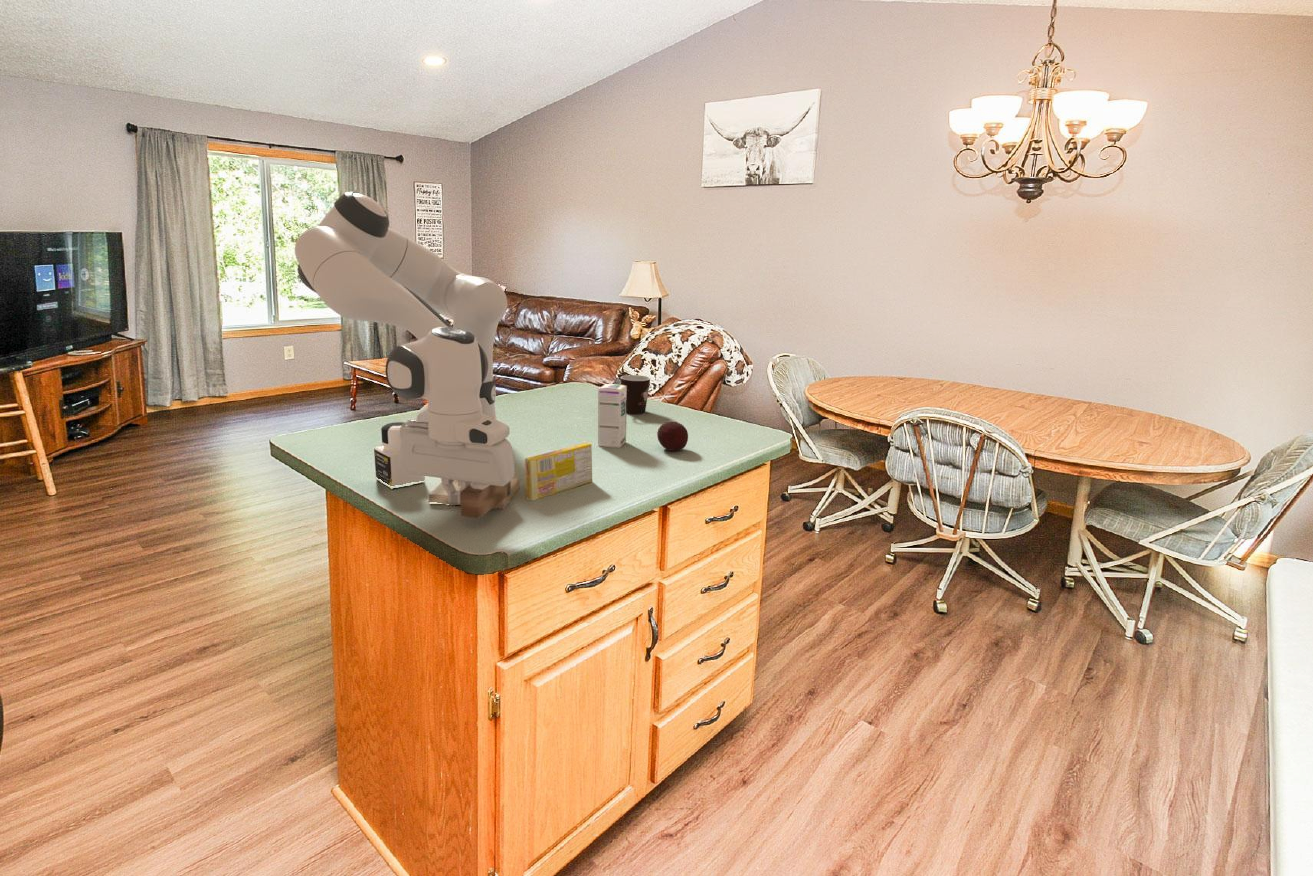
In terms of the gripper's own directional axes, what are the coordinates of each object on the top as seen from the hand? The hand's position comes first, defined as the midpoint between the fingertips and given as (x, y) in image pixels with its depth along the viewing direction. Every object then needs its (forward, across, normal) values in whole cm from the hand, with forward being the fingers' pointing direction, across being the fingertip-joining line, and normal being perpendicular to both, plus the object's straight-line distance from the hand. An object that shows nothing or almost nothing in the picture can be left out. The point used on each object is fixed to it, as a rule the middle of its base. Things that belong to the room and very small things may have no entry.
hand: (456, 502), depth 127 cm
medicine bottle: (+4, -21, +15) cm, 26 cm away
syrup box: (+4, +11, +57) cm, 58 cm away
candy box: (+4, +11, +22) cm, 25 cm away
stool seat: (+4, -3, +13) cm, 14 cm away
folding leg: (+1, +4, +5) cm, 6 cm away
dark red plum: (+4, +26, +58) cm, 63 cm away
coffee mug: (+4, +6, +91) cm, 91 cm away
